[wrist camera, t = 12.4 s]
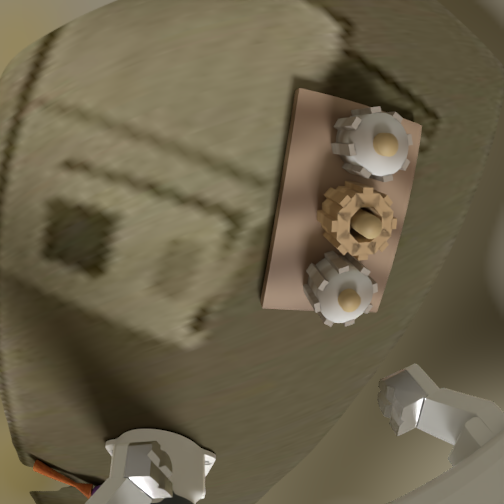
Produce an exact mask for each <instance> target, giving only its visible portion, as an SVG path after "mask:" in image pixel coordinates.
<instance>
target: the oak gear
mask: <svg viewBox="0 0 504 504" xmlns="http://www.w3.org/2000/svg"><path fill="white" fill-rule="evenodd" d="M324 196H325V197H326V198H327V199H326V200H325V201H324V202H323V203H322V210H317V221H318V222H320V223H321V227H322V228H323V229H324V230H325V232H324V233H323V234H322V235H323V236H324V237H325V238H326V239H327V240H328V241H329V242H330V243H331V244H332V245H333V246H334V247H336V248H337V249H338V250H339V251H340V252H341V253H342V254H343V255H345V254H346V253H347V252H348V253H349V254H350V255H351V256H354V257H355V258H356V259H357V260H368V255H369V254H375V253H376V252H377V251H378V250H380V251H381V252H383V251H384V250H385V248H386V247H387V246H388V245H389V244H388V243H387V240H388V239H389V238H390V237H391V232H392V229H396V225H397V218H395V217H393V210H392V209H391V208H390V206H391V205H392V203H393V202H392V200H391V199H390V198H389V197H388V195H386V194H384V193H381V192H378V191H376V190H373V187H370V186H367V185H364V184H361V183H358V182H355V181H345V186H338V187H337V188H336V189H333V188H331V187H330V188H329V189H328V191H327V192H326V193H325V194H324ZM361 207H363V209H362V210H364V211H366V212H368V213H370V214H372V215H374V216H376V217H377V218H379V219H380V221H381V223H382V230H381V232H380V234H379V235H378V236H377V237H376V238H374V239H368V238H366V237H364V236H363V235H361V234H360V233H359V232H357V231H356V230H354V229H350V218H351V217H352V216H353V215H354V214H355V213H356V212H357V211H358V210H359V209H360V208H361Z"/></svg>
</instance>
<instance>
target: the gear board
mask: <svg viewBox="0 0 504 504" xmlns="http://www.w3.org/2000/svg"><path fill="white" fill-rule="evenodd" d="M421 130H422V125H419V124H417V123H414V122H412V121H409V120H406V119H404V118H402V117H401V116H400V115H399V114H398V113H396V112H384V111H381V107H380V106H378V107H369V106H366V105H363V104H359V103H356V102H353V101H349V100H346V99H342V98H339V97H335V96H331V95H327V94H323V93H319V92H315V91H311V90H307V89H302V88H298V89H297V90H295V95H294V102H293V108H292V115H291V121H290V128H289V134H288V140H287V147H286V153H285V159H284V165H283V172H282V178H281V184H280V190H279V196H278V202H277V208H276V214H275V220H274V226H273V232H272V237H271V243H270V249H269V255H268V260H267V266H266V272H265V277H264V283H263V289H262V294H261V300H260V302H261V305H262V308H268V309H287V310H309V311H315V313H318V314H319V316H320V318H321V320H322V321H323V323H324V324H327V325H329V326H332V325H333V323H334V322H336V323H343V324H344V325H345V327H346V326H349V325H352V324H354V319H355V318H357V317H359V316H360V315H361V314H362V313H363V312H364V313H366V314H368V312H377V310H378V307H379V304H380V301H381V299H382V296H383V293H384V289H385V286H386V283H387V280H388V277H389V274H390V270H391V267H392V264H393V260H394V257H395V253H396V250H397V246H398V242H399V239H400V235H401V231H402V227H403V223H404V219H405V215H406V211H407V206H408V202H409V197H410V193H411V188H412V183H413V178H414V173H415V167H416V162H417V156H418V150H419V144H420V137H421ZM345 181H355V182H358V183H361V184H364V185H367V186H370V187H373V190H376V191H378V192H381V193H384V194H386V195H388V197H389V198H390V199H391V200H392V202H393V203H392V205H391V206H390V208H391V209H392V210H393V217H395V218H397V225H396V229H392V232H391V237H390V238H389V239H388V240H387V243H388V244H389V245H388V246H387V247H386V248H385V250H384V251H383V252H381V251H380V250H378V251H377V252H376V253H375V254H369V255H368V260H357V259H356V258H355V257H354V256H351V255H350V254H349V253H348V252H347V253H346V254H345V255H343V254H342V253H341V252H340V251H339V250H338V249H337V248H336V247H334V246H333V245H332V244H331V243H330V242H329V241H328V240H327V239H326V238H325V237H324V236H323V235H322V234H323V233H324V232H325V230H324V229H323V228H322V227H321V223H320V222H318V221H317V210H322V203H323V202H324V201H325V200H326V199H327V198H326V197H325V196H324V194H325V193H326V192H327V191H328V189H329V188H330V187H331V188H333V189H336V188H337V187H338V186H345ZM362 209H363V207H361V208H360V209H359V210H358V211H357V212H356V213H355V214H354V215H353V216H352V217H351V218H350V229H354V230H356V231H357V232H359V233H360V234H361V235H363V236H364V237H366V238H368V239H374V238H376V237H377V236H378V235H379V234H380V232H381V230H382V223H381V221H380V219H379V218H377V217H376V216H374V215H372V214H370V213H368V212H366V211H364V210H362Z"/></svg>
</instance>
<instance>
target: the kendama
mask: <svg viewBox="0 0 504 504" xmlns="http://www.w3.org/2000/svg"><path fill="white" fill-rule="evenodd" d="M33 469H34V471H36V472H38V473H40V474H43V475H45V476H47V477H50V478H52V479H55V480H58V481H60V482H63V483H66V484H69V485H71V486H74V487H76V488H77V489H78V490H79V491H81V492H82V493H83V494H84V495H85V496H86V497H87V498H88V499H89V497H90V496H91V495H93V494H94V493H95V492H96V491H97V490H98V489H99V487H100V486H101V485H98V486H95V487H94V488H93V484H83V483H75V482H74V481H72V480H70V479H68V478H67V477H65V476H63V475H62V474H60V473H58V472H57V471H55V470H53V469H52V468H50V467H49V466H47V465H45V464H44V463H42V462H41V461H39V460H38V459H37V460H36V461H35V463H34V467H33ZM92 489H93V490H92Z"/></svg>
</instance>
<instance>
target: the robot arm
mask: <svg viewBox="0 0 504 504" xmlns="http://www.w3.org/2000/svg"><path fill="white" fill-rule="evenodd" d="M378 387H379V388H380V390H381V391H380V392H379V393H378V404H379V407H380V409H381V411H382V413H383V415H384V416H386V417H388V418H390V426H391V427H392V429H393V430H394V432H395V434H396V435H397V436H399V435H401V434H403V433H405V432H408V431H410V430H411V429H414V428H416V427H417V428H418V429H420V430H422V431H424V432H427V433H429V434H431V435H433V436H435V437H437V438H440V439H442V440H444V441H446V442H448V443H450V444H453V445H454V447H453V449H452V451H451V453H450V454H449V457H448V460H449V461H450V463H451V464H452V466H453V467H452V468H450V469H449V470H447V471H446V472H444V473H442V474H441V475H439V476H438V477H436V478H434V479H432V480H431V481H429V482H427V483H426V484H424V485H422V486H420V487H418V488H416V489H415V490H413V491H411V492H409V493H407V494H405V495H403V496H401V497H399V498H397V499H395V500H393V501H391V502H389V503H386V504H504V412H503V411H502V410H501V409H500V408H499V407H498V406H497V405H496V404H495V403H494V402H493V401H490V400H486V399H482V398H478V397H475V396H471V395H467V394H464V393H460V392H457V391H453V390H449V389H446V388H441V389H439V387H438V386H437V385H436V384H435V383H434V382H433V381H432V380H431V379H430V378H429V376H428V375H427V374H426V373H425V372H424V371H423V370H422V369H421V367H420V366H419V365H418V364H413V365H411V366H409V367H406V368H405V369H402V370H399V371H398V372H395V373H393V374H391V375H389V376H387V377H385V378H382V379H380V381H379V386H378ZM105 447H106V449H107V450H108V452H109V453H110V455H111V456H112V461H111V469H110V477H109V478H107V480H106V481H105V482H104V483H103V484H102V485H101V486H100V487H99V489H98V490H97V491H96V492H95V493H94V494H93V495H92V496H91V498H90V499H89V500H88V501H87V502H86V503H85V504H195V503H196V502H197V501H198V500H199V499H201V498H202V499H203V498H204V497H205V494H206V488H205V477H206V475H207V474H208V472H209V470H210V469H211V467H212V465H213V463H214V462H215V459H216V455H215V454H214V453H212V452H210V451H207V450H205V449H202V448H201V447H199V446H198V445H197V444H196V443H194V442H193V441H191V440H190V439H188V438H186V437H184V436H181V435H179V434H176V433H172V432H169V431H164V430H158V429H135V430H130V431H127V432H125V433H123V434H122V435H121V436H120V437H118V438H117V439H112V440H108V441H106V445H105Z"/></svg>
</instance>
